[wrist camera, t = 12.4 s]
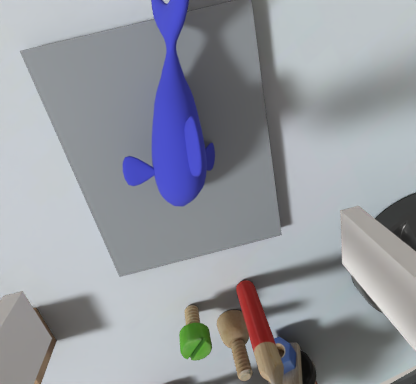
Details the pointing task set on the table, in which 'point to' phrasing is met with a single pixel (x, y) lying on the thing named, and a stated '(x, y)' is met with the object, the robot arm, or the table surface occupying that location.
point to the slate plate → (142, 133)
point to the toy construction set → (238, 336)
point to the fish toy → (173, 123)
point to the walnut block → (48, 353)
